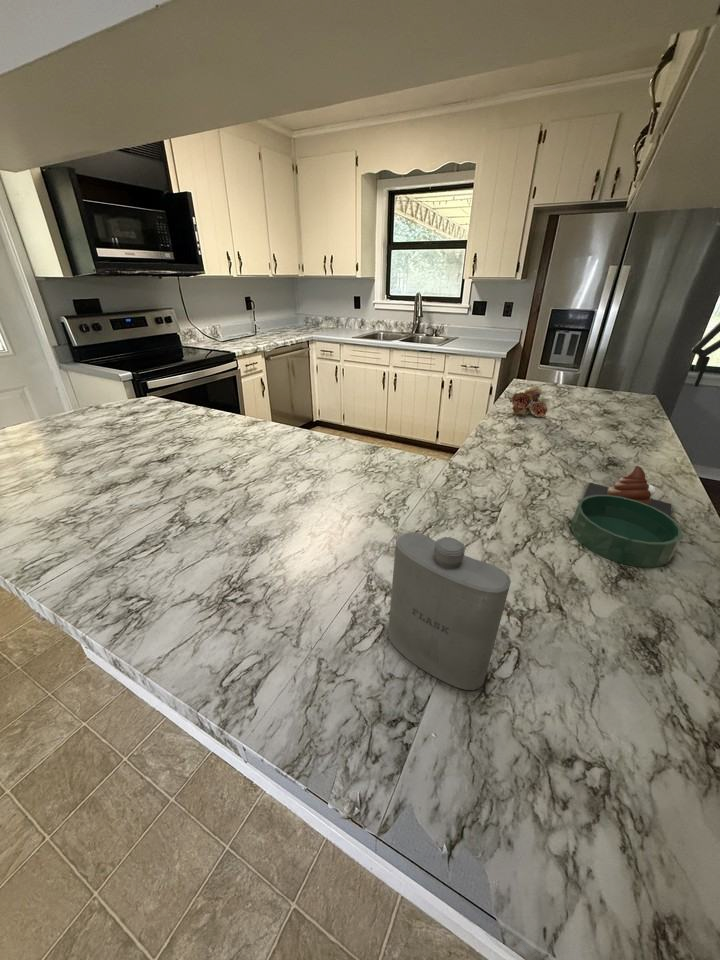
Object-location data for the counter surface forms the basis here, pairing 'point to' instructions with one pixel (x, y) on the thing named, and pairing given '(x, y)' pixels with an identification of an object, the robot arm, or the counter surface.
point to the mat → (602, 490)
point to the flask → (445, 608)
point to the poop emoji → (633, 487)
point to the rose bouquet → (529, 402)
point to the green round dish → (626, 530)
